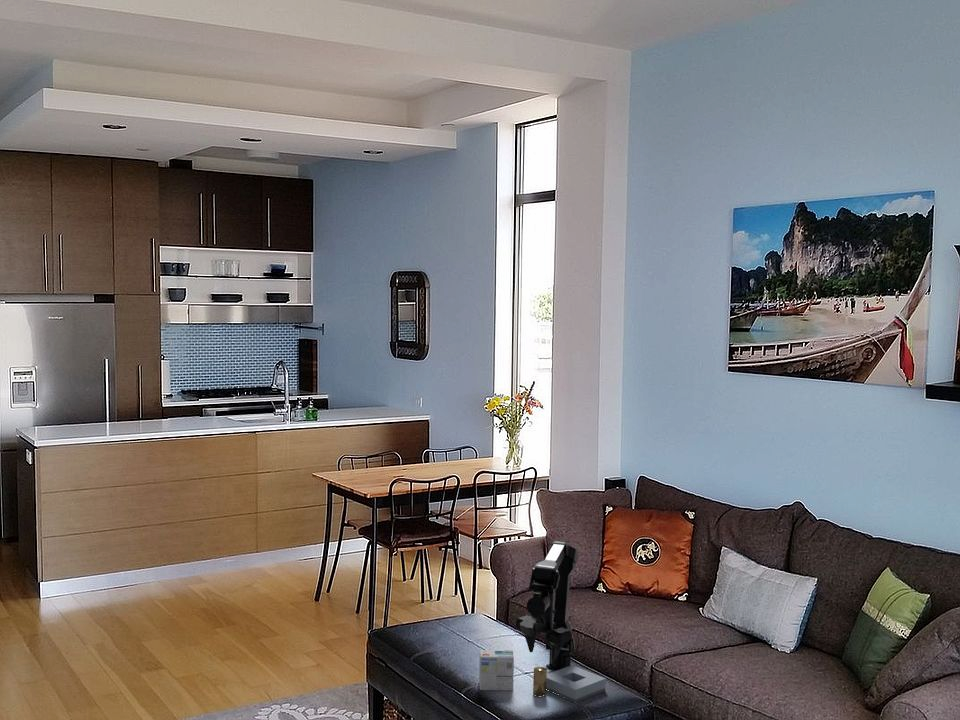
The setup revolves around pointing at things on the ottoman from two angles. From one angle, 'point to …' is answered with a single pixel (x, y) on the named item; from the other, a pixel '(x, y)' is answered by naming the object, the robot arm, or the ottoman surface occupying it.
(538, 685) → the peg
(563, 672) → the bore block
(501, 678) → the light bulb box
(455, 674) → the ottoman surface
